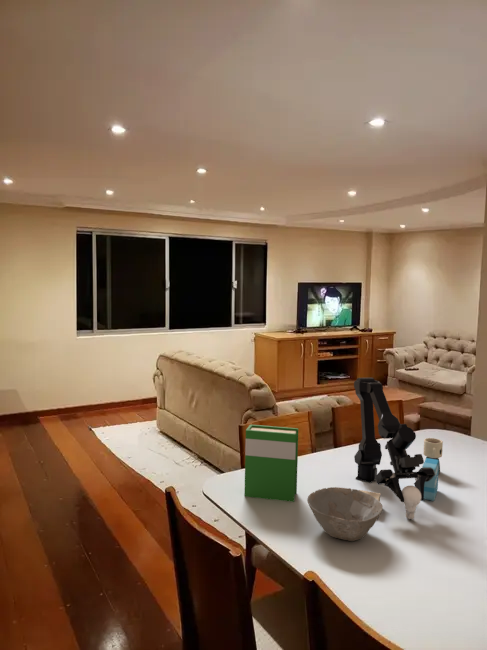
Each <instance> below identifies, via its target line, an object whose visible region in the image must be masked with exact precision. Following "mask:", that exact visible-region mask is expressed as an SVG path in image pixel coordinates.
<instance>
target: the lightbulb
mask: <svg viewBox="0 0 487 650" xmlns="http://www.w3.org/2000/svg"><path fill="white" fill-rule="evenodd" d="M401 491H402V494H403V497H404V502H402V503H403V505H404V509H405V518H406V519H407V520H414V519H415V513H416V509H417V506H419V504H420V503H421V502H422V501H421V492H420V491H419V489H418V488H416V487H415V485H406V486H404V487H403V488H401Z"/></svg>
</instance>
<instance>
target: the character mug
mask: <svg viewBox="0 0 487 650" xmlns="http://www.w3.org/2000/svg"><path fill="white" fill-rule="evenodd" d="M443 443H444V441H443V440H441V439H438V438H435V437H433V438H432V437H427V438H424V440H423V455H424V456H425V459H426V458H430V459H436V460H439V472H438V474H440V472H441V463H440V458H442V456H443V445H444V444H443Z"/></svg>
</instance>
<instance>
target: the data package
mask: <svg viewBox="0 0 487 650" xmlns="http://www.w3.org/2000/svg"><path fill="white" fill-rule="evenodd" d="M439 462H440V459H439V460H436V459H430V458H426V457H425V460H424V463H423V464H422V466H421V468H429V467H431V468H432V469H433V470H434V472H435V476H434V477H433V478H432V479H431V480H430V481H427V482H425V484H424V500H426V501H427V500H428V501H432V502H433V501H435V499H436V496H437V493H438V490H439V489H438V488H439V487H438V485H439V473H440V472H439ZM438 472H439V473H438Z"/></svg>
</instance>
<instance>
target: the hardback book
mask: <svg viewBox="0 0 487 650" xmlns="http://www.w3.org/2000/svg"><path fill="white" fill-rule="evenodd" d="M244 451H245V454H244V455H245V457H244V495H243V496H244V497H245V498H246V497H247V498H257V499H265V500H275V501H284V502H290V503H292V502H293V503H294V502H295V497H296V496H295V495H297V492H298V491H297V489H298V488H297V487H298V459H299V458H298V455H299V453H298V452H299V428H297V427H287V426H275V425H274V426H271V425H260V424H249V425H248V427H247V428H246V429H245V449H244Z"/></svg>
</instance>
